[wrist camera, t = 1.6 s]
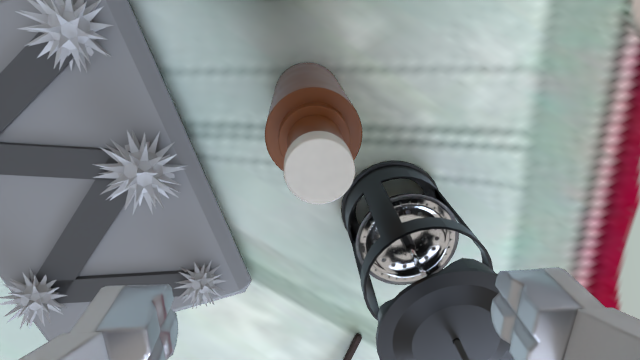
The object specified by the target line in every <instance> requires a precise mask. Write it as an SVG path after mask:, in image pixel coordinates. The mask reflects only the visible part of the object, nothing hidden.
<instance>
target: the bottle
mask: <svg viewBox="0 0 640 360" xmlns="http://www.w3.org/2000/svg"><path fill="white" fill-rule="evenodd" d="M265 142H266V146H267V150H268V152H269V155H270V156H271V158H272V160H273V161H274V162H275V164H276V165H277V166H278V167H279V168H280V169H281V170H282V171H284V179H285V182H286V184H287V186H288V188H289V190H290V191H291V192H292V193H293V194H294V195H295V196H296V197H297V198H299V199H301V200H302V201H305V202H308V203H312V204H326V203H330V202H333V201H335V200H337V199H339V198H340V197H341V196H343V195H344V194H345V193H346V192H347V191H348V189H349V188H350V186H351V185H352V182H353V180H354V176H355V164H354V159H355V157H356V156H357V154H358V152H359V149H360V146H361V142H362V126H361V121H360V118H359V116H358V113H357V111H356V110H355V108H354V107H353V105H352V103H351V102H350V100H349V99H348V97H347V95H346V94H345V92H344V91H343V89H342V88H341V86H340V84H339V83H338V81H337V80H336V78H335V76H334V75H333V74H332V73H331V72H330V71H329V70H328V69H326V68H325V67H323V66H321V65H319V64H315V63H300V64H296V65H294V66H292V67H290V68H289V69H287V70H286V71H285V72H284V73H283V74H282V75H281V76H280V78H279V80H278V82H277V84H276V87H275V91H274V95H273V99H272V103H271V107H270V111H269V115H268V119H267V122H266V128H265Z"/></svg>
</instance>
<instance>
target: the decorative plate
mask: <svg viewBox="0 0 640 360" xmlns="http://www.w3.org/2000/svg"><path fill="white" fill-rule="evenodd" d="M0 277H1V278H2V280H3V281H4V282H5V284H6V285H5V286H6V287H8V288H9V289H10V291H11V292H12V293H9V294H12V295H11V296H6V297H0V298H6V299H14V300H11V301H8V302H4V303H1V304H0V305H4V304H17V305H16V307H15V308H14V309H13V310H11V311H10V312H9V313H8V314H7V315H9V314H11V313H13V312H15V311H17V310H19V309H20V310H19V311H18V312H17V313H16V314H15V315H14V316H13V317H12V318H11V319H10V320H12V319H14V318H15V317H17V316H18V315H19V317H20V316H21V315H23V314H24V313H25V314H24V317H23V321H22V324H21V327H22V325H23V324H24V322H25V321H26V322H27V321H28V322H27V325H28V323H29V322H30V326H31V324H32V322H34V323H35V324H36V326H37V327H38V328H39V330H40V331H41V332H42V334H43V335H44V337H45V338H46V339H47V340H48V341H51V340H52V339H54V338H56V337H57V336H59V335H61V334H64V333H70V331H71V330H72V328H73V327H74V326H75V324H76V323H77V321H78V320H79V319H80V317H81V316H82V314H83V313H84V312H85V310H86V309H87V307H88V306H89V305H90V303H91V302H92V300H93V299H94V297H95V296H96V295H97V293H98V292H99V290H100V289H101V288H103V287H105V286H118V285H125V286H127V285H161V284H169V285H170V286H171V287H172V292H173V297H174V300H173V302H172V305H171V307H170V308H171V309H172V310H173V311H174V312H176V311H180V310H183V309H187V308H190V307H194V306H196V308H197V305H201V304H204V303H205V304H206V306H207V303H208V302H210V304H211V302H212V303H213V301H215V300H218V299H222V298H225V297H229V296H232V295H236V294H239V293H243V292H245V291H246V289H247V287H248V286H249V284H250V282H251V277H250V275H249V273H248V271H247V268H246V266H245V264H244V262H243V259H242V257H241V255H240V252H239V250H238V248H237V246H236V243H235V241H234V239H233V237H232V234H231V232H230V230H229V228H228V225H227V223H226V221H225V219H224V216H223V214H222V212H221V209H220V207H219V205H218V203H217V200H216V198H215V196H214V194H213V191H212V189H211V187H210V185H209V182H208V180H207V178H206V176H205V173H204V171H203V169H202V166H201V164H200V162H199V160H198V157H197V155H196V153H195V151H194V148H193V146H192V144H191V142H190V139H189V137H188V135H187V133H186V130H185V128H184V126H183V123H182V121H181V119H180V117H179V114H178V112H177V110H176V108H175V105H174V103H173V101H172V99H171V96H170V94H169V92H168V90H167V87H166V85H165V83H164V80H163V78H162V76H161V74H160V71H159V69H158V67H157V65H156V62H155V60H154V58H153V56H152V53H151V51H150V49H149V47H148V44H147V42H146V40H145V37H144V35H143V33H142V31H141V28H140V26H139V24H138V22H137V19H136V17H135V15H134V13H133V10H132V8H131V6H130V3H129V1H128V0H0ZM3 285H4V284H3ZM213 304H214V303H213ZM192 309H193V308H192ZM7 315H5V316H7ZM19 317H18V318H19ZM10 320H9V321H10ZM9 321H8V322H9ZM30 326H29V328H30ZM21 327H20V328H21Z"/></svg>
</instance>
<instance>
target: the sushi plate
mask: <svg viewBox="0 0 640 360" xmlns="http://www.w3.org/2000/svg"><path fill="white" fill-rule="evenodd" d="M361 339H362V336H361V334H356V336H355V337H354V339H353V341H352V343H351V345H350V347H349V349H348V351H347V353H346V355H345V357H344V359H343V360H351V359H352V357H353V355H354V353H355V351H356V349H357V347H358V345H359V343H360V341H361Z"/></svg>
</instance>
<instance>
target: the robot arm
mask: <svg viewBox="0 0 640 360" xmlns="http://www.w3.org/2000/svg"><path fill="white" fill-rule="evenodd" d="M495 286H496V287H497V289H498V290H499V293H498V294H497V295H496V296H495V297H494V298H493V299H492V305H491V317H492V323H493V325H494V328H495V330H496V332H497V333H498V335H499V337H500V338H501V339H503V340H505V341H506V342H508V343H509V344H511V345H510V350H509V352H510V354H511V355H512V357H513V358H514V360H640V320H639V319H637V318H635V317H632V316H630V315H628V314H626V313H623V312H621V311H619V310H616V309H614V308H606V307H604V306H603V305H602V304H601V303H600V302H599V301H598V300H597V299H596V298H595V297H594V296H593V295H591V294H590V293H589V292H588V291H587V290H586V289H585V288H584V287H583V286H582V285H581V284H580V283H579V282H577V281H576V280H575V279H574V278H573V277H572V276H571V275H570V274H569V273H568V272H567V271H566V270H564V269H562V268H559V267H554V268H540V269H532V270H513V271H500V272H499V274H498V275H497V278H496V283H495ZM173 300H174V297H173V292H172V287H171V286H170V285H169V284H161V285H127V286H125V285H118V286H105V287H103V288H101V289H100V290H99V292H98V293H97V295H96V296H95V297H94V299H93V300H92V302H91V303H90V305H89V306H88V307H87V309H86V310H85V312H84V313H83V314H82V316H81V317H80V319H79V320H78V321H77V323H76V324H75V326H74V327H73V328H72V330H71V331H70V333H64V334H61V335H59V336H57V337H56V338H54V339H52V340H51V341H49V342H47V343H46V344H44V345H42V346H41V347H39V348H37V349H36V350H34V351H32V352H31V353H29V354H27V355H25V356H24V357H22V358H20V359H19V360H167V359H168V358H169V357H170V356H171V355H173V353H174V349H175V346H176V342H177V335H178V321H177V314H176V313H175V312H174V311H173V310H172V309H171V308H170V307H171V305H172V302H173Z"/></svg>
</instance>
